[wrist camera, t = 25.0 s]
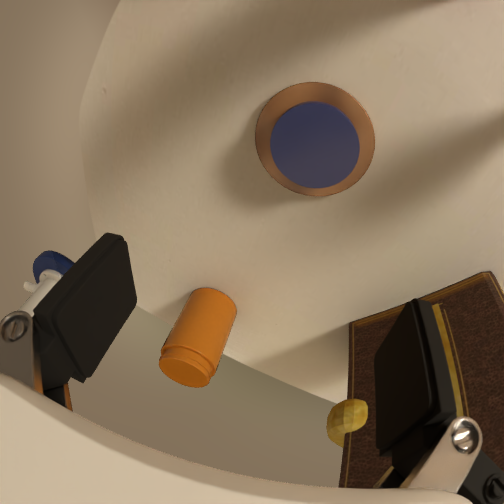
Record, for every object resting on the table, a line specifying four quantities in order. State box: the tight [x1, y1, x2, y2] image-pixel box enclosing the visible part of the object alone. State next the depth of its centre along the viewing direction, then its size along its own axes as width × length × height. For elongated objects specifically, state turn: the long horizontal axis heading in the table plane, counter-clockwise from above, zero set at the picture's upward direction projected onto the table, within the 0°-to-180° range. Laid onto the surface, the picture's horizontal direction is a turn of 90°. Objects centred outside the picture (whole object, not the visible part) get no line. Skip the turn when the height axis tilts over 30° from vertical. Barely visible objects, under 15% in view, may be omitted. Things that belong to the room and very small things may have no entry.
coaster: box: [255, 82, 375, 196], centre depth 23 cm, size 10×10×1 cm
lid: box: [270, 101, 360, 188], centre depth 22 cm, size 7×7×2 cm
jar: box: [159, 288, 237, 388], centre depth 34 cm, size 6×6×10 cm
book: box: [327, 271, 504, 489], centre depth 22 cm, size 22×8×25 cm, turn 125°
